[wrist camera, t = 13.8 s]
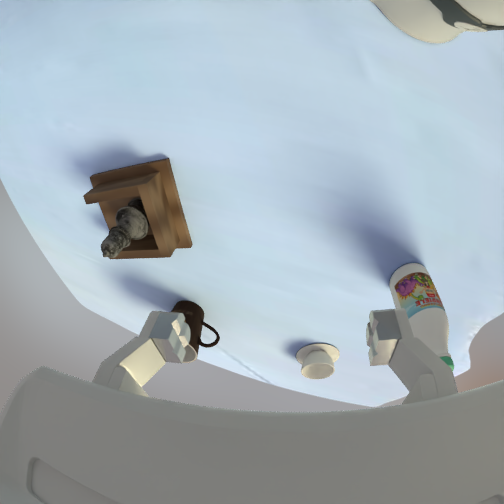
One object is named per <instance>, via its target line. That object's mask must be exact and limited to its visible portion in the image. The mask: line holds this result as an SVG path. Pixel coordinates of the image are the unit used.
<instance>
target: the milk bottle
mask: <svg viewBox="0 0 504 504" xmlns="http://www.w3.org/2000/svg"><path fill="white" fill-rule="evenodd" d="M389 286H390V290H391V294H392V297H393V300H394V304H395V307H396V309H399V308H404V309H405V310H406V313H407V316H408V319H409V322H410V325H411V329H412V332H413V335H414V338H415V337H417V338H418V339H420V340H421V341H422V342H423V343H424V344H425V345H426V346H427V347H428V348H430V349H431V350H432V351H433V352H434V353H435V354H436V355H437V356H438V357H440V358H441V359H442V360H443V361H444V362H445V363H446V364H447V365H448V366H449V367H450V368H451V369H452V371H453V369H454V364H453V361H452V359H451V355H450V354H449V353H448V335H449V324H448V319H447V315H446V312H445V309H444V307H443V304H442V302H441V300H440V297H439V295H438V293H437V290H436V288H435V286H434V284H433V282H432V279H431V277H430V275H429V273H428V271H427V270H426V268H425V267H424V266H422V265H420V264H417V263H409V264H406V265H403V266H401V267H400V268H398V269H397V270H396V271H395V272H394V273H393V275H392V277H391V279H390V284H389Z"/></svg>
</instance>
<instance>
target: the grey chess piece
mask: <svg viewBox="0 0 504 504" xmlns="http://www.w3.org/2000/svg"><path fill="white" fill-rule="evenodd" d="M115 221H116V226H115V227H112V228H111V229H110V231H109V235H108V236H107V237H106V239H105V240H104V241H103V242H102V244H101V250H102V252H103V257H109V258H115V257H116V256H118V254H119V253H120V252H121V250H122V249H123V248H125V247H127V246H129V244H130V240H131V239H134V240H139V239H142V238H143V237H145V236H146V234H147V233H148V227H149V226H150V224H149V221H148V218H147V215H146V212H145V209H144V206H143V203H142V200H141V198H134V199H132V200H131V201H130V202H129V203H128V206H124V207H121V208H120V209H119V210H118V211H117V213H116V216H115Z"/></svg>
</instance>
